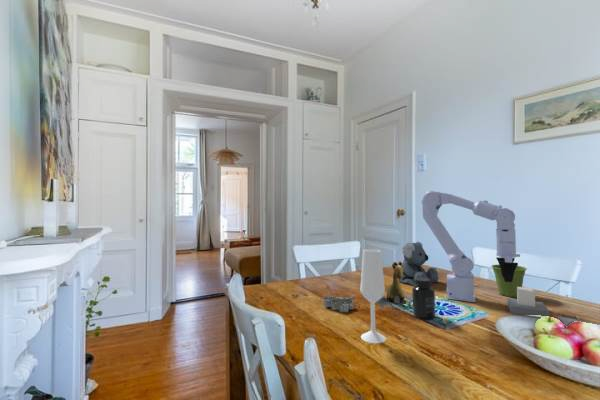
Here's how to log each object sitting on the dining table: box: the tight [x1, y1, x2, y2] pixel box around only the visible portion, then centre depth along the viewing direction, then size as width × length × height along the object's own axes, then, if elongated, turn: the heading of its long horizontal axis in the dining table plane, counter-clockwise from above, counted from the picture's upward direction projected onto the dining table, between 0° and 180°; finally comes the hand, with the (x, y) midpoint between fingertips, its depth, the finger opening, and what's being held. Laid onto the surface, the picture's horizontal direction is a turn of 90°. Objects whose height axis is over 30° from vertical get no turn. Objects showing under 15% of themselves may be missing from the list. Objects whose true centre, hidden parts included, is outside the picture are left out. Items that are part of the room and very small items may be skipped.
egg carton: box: [321, 295, 356, 313], centre depth 106 cm, size 11×8×4 cm
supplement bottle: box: [411, 278, 436, 320], centre depth 97 cm, size 7×7×12 cm
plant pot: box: [491, 264, 528, 298], centre depth 119 cm, size 12×12×11 cm
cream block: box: [516, 286, 536, 307], centre depth 100 cm, size 4×4×5 cm
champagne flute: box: [359, 248, 387, 344], centre depth 81 cm, size 7×7×24 cm
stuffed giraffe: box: [377, 261, 413, 309], centre depth 113 cm, size 16×18×16 cm
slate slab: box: [506, 297, 550, 316], centre depth 100 cm, size 10×10×3 cm
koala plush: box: [399, 241, 439, 287], centre depth 141 cm, size 17×18×20 cm
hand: (507, 279), depth 106 cm, fingers open, 7 cm apart
